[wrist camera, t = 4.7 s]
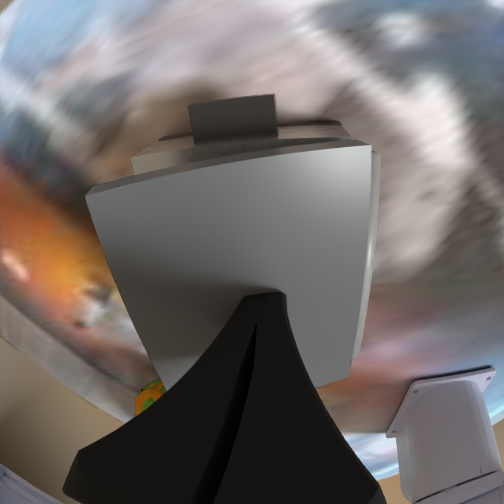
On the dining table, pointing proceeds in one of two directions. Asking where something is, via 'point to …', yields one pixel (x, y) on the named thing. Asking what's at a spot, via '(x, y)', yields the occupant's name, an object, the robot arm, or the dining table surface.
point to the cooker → (233, 133)
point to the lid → (246, 249)
